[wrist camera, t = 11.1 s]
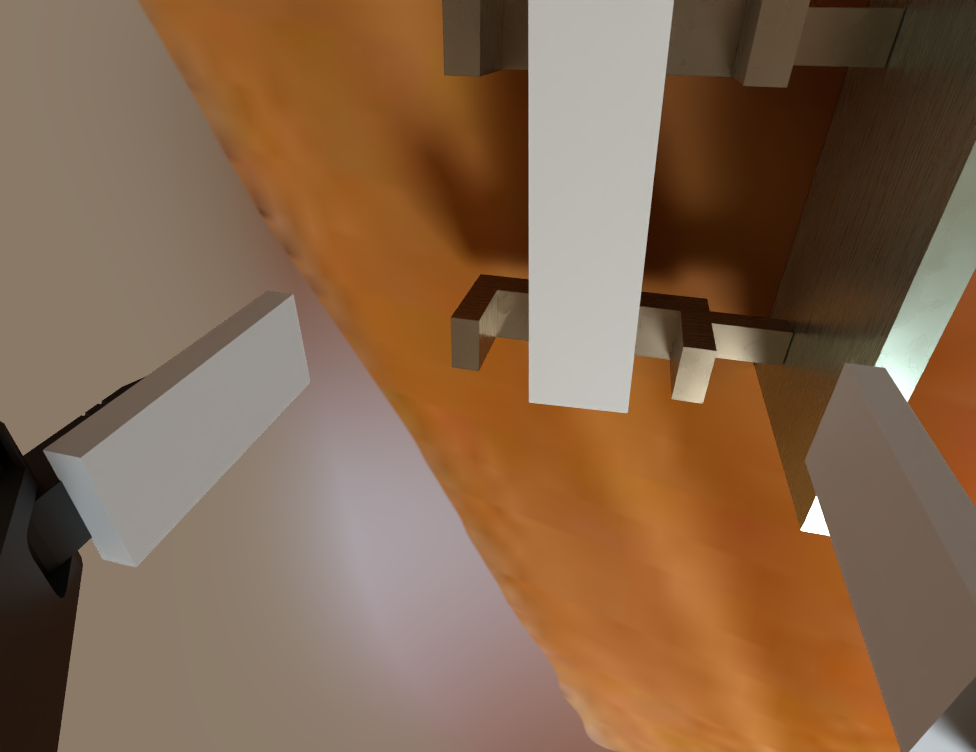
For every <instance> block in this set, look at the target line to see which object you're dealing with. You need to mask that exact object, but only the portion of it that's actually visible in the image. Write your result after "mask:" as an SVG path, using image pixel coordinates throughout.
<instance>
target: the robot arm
mask: <svg viewBox="0 0 976 752" xmlns="http://www.w3.org/2000/svg"><path fill="white" fill-rule="evenodd" d="M309 383H310V377H309V372H308V367H307V362H306V356H305V351H304V346H303V341H302V336H301V331H300V326H299V321H298V316H297V310H296V305H295V300H294V295H293V294H288V293H280V292H273V291H266V292H265V293H264V294H262V295H261V296H259V297H258V298H256V299H255V300H254V301H252V302H251V303H249V304H248V305H247V306H245V307H244V308H242V309H241V310H239V311H238V312H237V313H235V314H234V315H233V316H231V317H230V318H228V319H227V320H225V321H224V322H223V323H221V324H220V325H218V326H217V327H216V328H214V329H213V330H211V331H210V332H208V333H207V334H206V335H204V336H203V337H201V338H200V339H199V340H197V341H196V342H194V343H193V344H192V345H190V346H189V347H187V348H186V349H185V350H183V351H182V352H180V353H179V354H178V355H176V356H175V357H173V358H172V359H171V360H169V361H168V362H166V363H165V364H163V365H162V366H161V367H159V368H158V369H156V370H155V371H154V372H152V373H151V374H149V375H148V376H146V377H144V378H142V379H139V380H137V381H135V382H133V383H130V384H128V385H126V386H123V387H121V388H120V389H119V390H117V391H116V392H114V393H113V394H112V395H110V396H108V397H107V398H106V399H104V400H103V401H102V404H97V405H95V406H94V407H93V408H91V409H90V410H88V411H87V412H86V414H85V416H80V417H78V418H77V419H75V420H74V421H73V422H71V423H70V424H68V425H67V426H65V427H64V428H63V429H61V430H60V431H58V432H57V433H55V434H54V435H53V436H51V437H50V438H48V439H47V440H45V441H44V442H42V443H41V444H40V445H38V446H37V447H35V448H34V449H32V450H31V451H30V452H28V453H27V454H25V455H24V456H23V455H22V454H21V452H20V450H19V449H18V447H17V445H16V443H15V442H14V440H13V438H12V436H11V435H10V433H9V431H8V430H7V428H6V426H5V424H4V423H2V422H1V421H0V752H57V749H58V742H59V734H60V727H61V720H62V713H63V706H64V698H65V691H66V684H67V677H68V669H69V662H70V655H71V648H72V640H73V633H74V626H75V619H76V611H77V604H78V597H79V589H80V582H81V575H82V568H83V563H82V558H81V556H80V554H79V552H78V550H79V549H80V548H81V547H82V546H83V545H84V544H85V543H86V542H87V541H88V540H89V539H92V541H93V542H94V544H95V546H96V548H97V550H98V552H99V554H100V555H101V557H102V559H104V560H108V561H112V562H116V563H120V564H124V565H128V566H132V567H137V566H138V565H139V564H140V563H141V562H142V561H143V560H144V558H145V557H146V556H147V555H148V554H149V553H150V552H151V551H152V550H153V549H154V548H155V547H156V546H157V545H158V544H159V542H160V541H161V540H162V539H163V538H164V537H165V536H166V535H167V534H168V533H169V532H170V531H171V530H172V529H173V528H174V527H175V525H176V524H177V523H178V522H179V521H180V520H181V519H182V518H183V517H184V516H185V515H186V514H187V513H188V512H189V511H190V510H191V508H192V507H193V506H194V505H195V504H196V503H197V502H198V501H199V500H200V499H201V498H202V497H203V496H204V495H205V494H206V493H207V492H208V490H209V489H210V488H211V487H212V486H213V485H214V484H215V483H216V482H217V481H218V480H219V479H220V478H221V477H222V476H223V474H224V473H225V472H226V471H227V470H228V469H229V468H230V467H231V466H232V465H233V464H234V463H235V462H236V461H237V460H238V458H240V456H241V455H242V454H243V453H244V452H245V451H246V450H247V449H248V448H249V447H250V446H251V445H252V444H253V443H254V442H255V440H256V439H257V438H258V437H259V436H260V435H261V434H262V433H263V432H264V431H265V430H266V429H267V428H268V427H269V426H270V424H271V423H272V422H273V421H274V420H275V419H276V418H277V417H278V416H279V415H280V414H281V413H282V412H283V411H284V410H285V409H286V408H287V407H288V405H289V404H290V403H291V402H292V401H293V400H294V399H295V398H296V397H297V396H298V395H299V394H300V393H301V392H302V391H303V390H304V388H305V387H306V386H307V385H308V384H309ZM805 463H806V466H807V469H808V472H809V475H810V478H811V481H812V484H813V487H814V490H815V493H816V496H817V499H818V502H819V505H820V508H821V511H822V514H823V517H824V521H825V524H826V527H827V530H828V533H829V536H830V539H831V542H832V545H833V548H834V551H835V554H836V557H837V560H838V563H839V566H840V569H841V572H842V575H843V578H844V581H845V584H846V587H847V590H848V593H849V596H850V599H851V602H852V605H853V608H854V611H855V614H856V617H857V620H858V623H859V626H860V629H861V632H862V635H863V638H864V641H865V644H866V647H867V650H868V653H869V656H870V659H871V662H872V665H873V668H874V671H875V674H876V677H877V680H878V683H879V686H880V689H881V692H882V696H883V699H884V702H885V705H886V708H887V711H888V714H889V717H890V720H891V723H892V726H893V729H894V732H895V735H896V738H897V741H898V744H899V747H900V750H901V752H976V508H975V506H974V505H973V503H972V501H971V500H970V498H969V497H968V495H967V494H966V492H965V491H964V489H963V487H962V486H961V484H960V483H959V481H958V480H957V478H956V477H955V475H954V474H953V472H952V470H951V469H950V467H949V466H948V464H947V463H946V461H945V460H944V458H943V457H942V455H941V453H940V452H939V450H938V449H937V447H936V446H935V444H934V443H933V441H932V440H931V438H930V436H929V435H928V433H927V432H926V430H925V429H924V427H923V426H922V424H921V422H920V421H919V419H918V418H917V416H916V415H915V413H914V412H913V410H912V409H911V407H910V405H909V404H908V402H907V401H906V399H905V398H904V396H903V395H902V393H901V392H900V390H899V388H898V387H897V385H896V384H895V382H894V381H893V379H892V378H891V376H890V375H889V373H888V371H887V370H886V368H883V367H875V366H867V365H859V364H851V363H845V365H844V367H843V370H842V372H841V375H840V377H839V379H838V382H837V384H836V387H835V389H834V391H833V394H832V396H831V398H830V401H829V403H828V406H827V408H826V410H825V413H824V415H823V418H822V420H821V422H820V425H819V427H818V430H817V432H816V434H815V437H814V439H813V442H812V444H811V446H810V449H809V451H808V453H807V456H806V458H805Z"/></svg>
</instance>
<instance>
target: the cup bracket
mask: <svg viewBox="0 0 976 752" xmlns="http://www.w3.org/2000/svg"><path fill="white" fill-rule="evenodd" d="M809 3H810V0H674V4H673V13H672V22H671V31H670V40H669V49H668V58H667V66H666V75H685V76H716V77H732V78H733V79H734V80H736V81H737V82H738V83H740V84H741V85H742V86H756V87H784V88H787V86H788V82H789V78H790V75H791V71H792V67H793V65H801V66H837V67H848V70H847V73H846V77H845V80H844V83H843V86H842V89H841V92H840V96H839V99H838V102H837V105H836V108H835V112H834V115H833V118H832V121H831V124H830V128H829V131H828V134H827V137H826V140H825V143H824V147H823V150H822V153H821V156H820V159H819V163H818V166H817V169H816V172H815V175H814V179H813V182H812V185H811V188H810V191H809V194H808V198H807V201H806V204H805V207H804V210H803V214H802V217H801V220H800V223H799V226H798V230H797V233H796V236H795V239H794V242H793V245H792V249H791V252H790V255H789V258H788V261H787V265H786V268H785V271H784V274H783V277H782V281H781V284H780V287H779V290H778V293H777V296H776V300H775V303H774V306H773V309H772V312H771V316H770V318H765V317H756V316H747V315H738V314H729V313H720V312H711V311H709V306H708V301H707V299H704V298H694V297H685V296H676V295H667V294H658V293H649V292H641V298H640V307H639V316H638V325H637V334H636V343H635V352H634V355H639V356H647V357H655V358H662V359H670V374H671V399H675V400H682V401H689V402H696V403H703V401H704V397H705V393H706V390H707V386H708V382H709V378H710V375H711V371H712V367H713V363H714V360H715V357H716V358H724V359H732V360H740V361H747V362H755V370H756V374H757V377H758V381H759V384H760V388H761V391H762V395H763V398H764V402H765V405H766V409H767V412H768V416H769V419H770V423H771V426H772V430H773V434H774V437H775V441H776V444H777V448H778V451H779V455H780V458H781V462H782V465H783V469H784V472H785V476H786V479H787V483H788V486H789V490H790V493H791V497H792V500H793V504H794V507H795V511H796V514H797V518H798V522H799V525H800V529H801V531H807V532H812V533H818V534H823V535H829V533H828V530H827V527H826V524H825V521H824V517H823V514H822V511H821V508H820V505H819V502H818V499H817V496H816V493H815V490H814V487H813V484H812V481H811V478H810V475H809V472H808V469H807V466H806V463H805V458H806V456H807V453H808V451H809V449H810V446H811V444H812V442H813V439H814V437H815V434H816V432H817V430H818V427H819V425H820V422H821V420H822V418H823V415H824V413H825V410H826V408H827V406H828V403H829V401H830V398H831V396H832V394H833V391H834V389H835V387H836V384H837V382H838V379H839V377H840V375H841V372H842V370H843V367H844V365H845V363H851V364H859V365H867V366H875V367H883V368H886V370H887V371H888V373H889V375H890V376H891V378H892V379H893V381H894V382H895V384H896V385H897V387H898V388H899V390H900V392H901V393H902V395H903V396H904V398H905V399H906V401H907V402H908V400H909V398H910V396H911V394H912V392H913V390H914V388H915V386H916V384H917V382H918V380H919V378H920V376H921V374H922V373H923V371H924V369H925V367H926V365H927V363H928V361H929V359H930V357H931V355H932V353H933V351H934V349H935V347H936V345H937V343H938V341H939V339H940V337H941V335H942V333H943V331H944V329H945V327H946V325H947V323H948V321H949V319H950V317H951V315H952V313H953V311H954V309H955V307H956V305H957V303H958V301H959V299H960V297H961V295H962V293H963V292H964V290H965V288H966V286H967V284H968V282H969V280H970V278H971V276H972V274H973V272H974V270H975V268H976V0H869V3H868V6H867V8H833V7H809ZM442 4H443V42H444V75H449V76H477V77H480V76H483V75H486V74H490V73H493V72H496V71H499V70H502V69H503V70H528V0H442ZM496 337H502V338H510V339H517V340H525V341H529V279H520V278H511V277H502V276H492V275H483V274H480V276H479V277H478V279H477V280H476V282H475V283H474V285H473V286H472V288H471V289H470V290H469V292H468V293H467V295H466V296H465V298H464V299H463V301H462V302H461V303H460V305H459V306H458V308H457V309H456V311H455V312H454V314H453V315H452V316H451V344H452V367H454V368H461V369H468V370H475V371H479V370H480V368H481V366H482V364H483V362H484V360H485V358H486V356H487V354H488V352H489V350H490V348H491V346H492V344H493V342H494V340H495V338H496Z"/></svg>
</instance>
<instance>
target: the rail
mask: <svg viewBox="0 0 976 752" xmlns="http://www.w3.org/2000/svg"><path fill="white" fill-rule="evenodd" d="M673 4H674V0H528V80H529V402H530V403H539V404H548V405H557V406H566V407H576V408H585V409H594V410H603V411H612V412H621V413H628V405H629V396H630V387H631V378H632V369H633V361H634V352H635V343H636V334H637V325H638V316H639V307H640V298H641V289H642V280H643V271H644V263H645V254H646V245H647V236H648V227H649V218H650V209H651V200H652V191H653V182H654V173H655V164H656V156H657V147H658V138H659V129H660V120H661V111H662V102H663V93H664V84H665V75H666V66H667V58H668V49H669V40H670V31H671V22H672V13H673Z"/></svg>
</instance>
